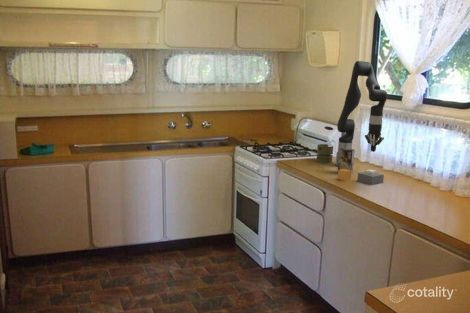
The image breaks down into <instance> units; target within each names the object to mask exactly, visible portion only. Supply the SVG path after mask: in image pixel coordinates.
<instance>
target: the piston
mask: <svg viewBox="0 0 470 313" xmlns="http://www.w3.org/2000/svg"><path fill="white" fill-rule="evenodd" d="M316 148H317V149H316V153H317V154H316V162H317V163H321V164H332V163H333V154H334V145H332V146H329V144H327V143H326V144H325V143H320V144H317V147H316Z"/></svg>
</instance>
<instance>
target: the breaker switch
mask: <svg viewBox="0 0 470 313" xmlns="http://www.w3.org/2000/svg"><path fill="white" fill-rule="evenodd" d="M365 172H366V174H369V175H375V174H376V173H377V170H374V169H366V170H365Z"/></svg>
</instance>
